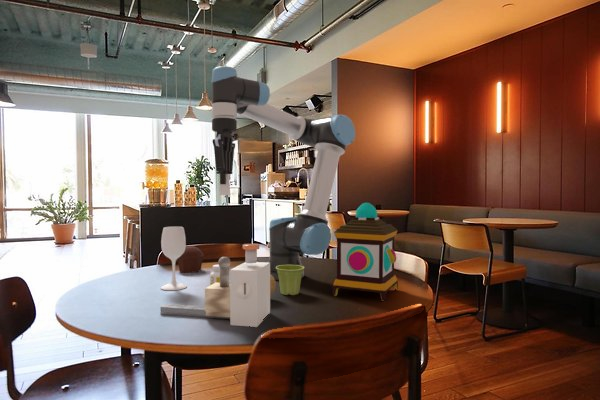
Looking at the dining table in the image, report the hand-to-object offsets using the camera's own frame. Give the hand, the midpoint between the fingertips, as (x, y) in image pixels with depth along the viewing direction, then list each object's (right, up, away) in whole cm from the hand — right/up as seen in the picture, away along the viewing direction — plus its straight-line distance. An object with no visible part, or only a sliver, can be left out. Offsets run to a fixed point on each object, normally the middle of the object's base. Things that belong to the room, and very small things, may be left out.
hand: (224, 195), depth 127 cm
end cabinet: (+11, -33, -19) cm, 39 cm away
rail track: (-4, -33, -16) cm, 37 cm away
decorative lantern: (+45, -33, +9) cm, 56 cm away
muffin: (-23, -31, +45) cm, 59 cm away
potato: (+9, -33, -2) cm, 34 cm away
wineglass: (-20, -32, +15) cm, 41 cm away
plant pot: (+20, -33, +8) cm, 39 cm away
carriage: (+3, -32, -17) cm, 36 cm away
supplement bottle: (-3, -33, +5) cm, 33 cm away
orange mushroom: (+11, -18, -19) cm, 28 cm away
